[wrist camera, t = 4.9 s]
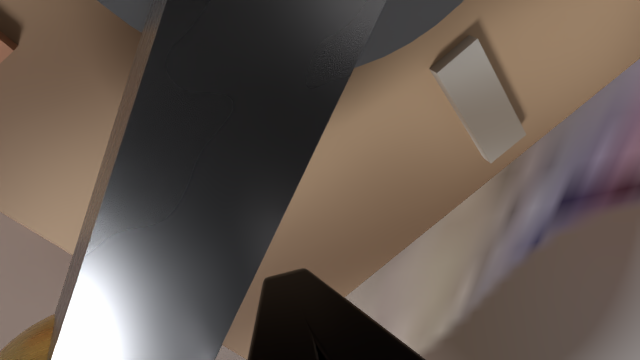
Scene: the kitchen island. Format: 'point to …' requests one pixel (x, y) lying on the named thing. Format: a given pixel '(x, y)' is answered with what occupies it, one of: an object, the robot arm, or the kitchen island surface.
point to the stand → (339, 135)
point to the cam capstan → (206, 165)
